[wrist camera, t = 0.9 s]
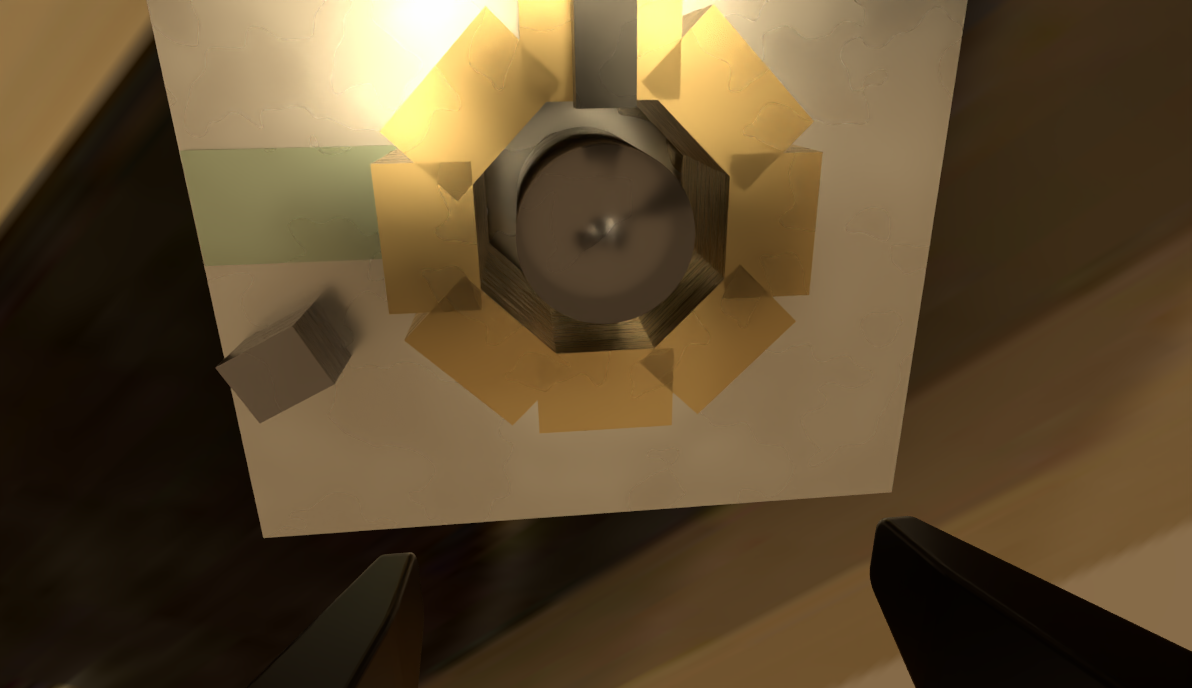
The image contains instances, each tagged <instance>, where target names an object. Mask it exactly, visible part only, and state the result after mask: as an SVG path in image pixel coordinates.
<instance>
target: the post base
mask: <svg viewBox="0 0 1192 688" xmlns="http://www.w3.org/2000/svg"><path fill="white" fill-rule="evenodd" d="M712 4H714V5H715V6H716V7H717V8H718V10H719V11H720V12H721V13H722V14H723V15H724V17H725V18H726V19H727V20H728V21H729V22H730V24H731V25H732V26H733V27H734V28H735V29H736V31H737V32H738V33H739V34H740V35H741V37H742V38H743V39H744V40H745V41H746V42H747V44H748V45H749V46H750V47H751V48H752V49H753V51H754V52H755V53H756V54H757V55H758V56H759V58H760V59H761V60H762V61H763V62H764V64H765V65H766V66H767V67H768V68H769V69H770V71H771V72H772V73H773V74H774V75H775V76H776V78H777V79H778V80H779V81H780V82H781V83H782V85H783V86H784V87H785V88H786V89H787V91H788V92H789V93H790V94H791V95H792V96H793V98H794V99H795V100H796V101H797V102H798V103H799V105H800V106H801V107H802V108H803V109H804V110H805V112H806V113H807V114H808V115H809V116H810V117H811V119H812V120H813V121H814V122H813V123H812V124H811V125H810V126H809V127H808V128H807V129H806V130H805V131H804V132H803V133H802V134H801V135H800V136H799V137H798V138H797V139H796V140H795V141H794V142H793V143H792V144H793V145H797V146H801V147H805V148H809V149H813V150H817V151H821V152H823V155H822V166H821V176H820V187H819V197H818V208H817V218H816V229H815V239H814V250H813V260H812V271H811V281H810V292H809V295H800V296H778V297H773V298H774V299H775V300H776V301H777V302H778V303H779V304H780V305H781V306H782V307H783V308H784V309H785V310H786V311H787V312H788V313H789V314H790V315H791V316H792V317H793V318H794V320H795V321H796V322H795V323H794V324H793V325H792V326H791V327H790V328H788V329H787V330H786V331H785V332H784V333H783V334H782V335H781V336H780V337H779V338H778V339H777V340H776V341H775V342H774V343H773V344H772V345H770V346H769V347H768V348H767V349H766V350H765V351H764V352H763V353H762V354H761V355H760V356H759V357H758V358H757V359H756V360H755V361H753V362H752V363H751V364H750V365H749V366H748V367H747V368H746V369H745V370H744V371H743V372H742V373H741V374H740V375H739V376H738V377H737V378H735V379H734V380H733V381H732V382H731V383H730V384H729V385H728V386H727V387H726V388H725V389H724V390H723V391H722V392H721V393H720V394H719V395H717V396H716V397H715V398H714V399H713V400H712V401H711V402H710V403H709V404H708V405H707V406H706V407H705V408H704V409H703V410H702V411H700V412H699V413H698V414H697V413H696V412H694V411H693V410H692V409H691V408H690V407H689V406H688V405H686V404H685V403H684V402H683V401H682V400H681V399H680V398H679V397H677V396H676V395H675V394H674V393H673V400H672V425H668V426H652V427H636V428H620V429H604V430H588V431H572V432H556V433H539V417H538V400H537V401H536V402H535V403H534V404H533V405H532V406H531V407H530V408H529V409H528V411H527V412H526V413H525V414H524V415H523V416H522V417H521V418H520V419H519V420H518V421H517V422H516V423H515V424H514V425H513V426H512V425H511V424H510V423H509V422H507V421H506V420H505V419H504V418H502V417H501V416H500V415H498V414H497V413H496V412H495V411H493V410H492V409H491V408H490V407H488V406H487V405H486V404H484V403H483V402H482V401H481V400H479V399H478V398H477V397H475V396H474V395H473V394H472V393H470V392H469V391H468V390H467V389H465V388H464V387H463V386H461V385H460V384H459V383H458V382H456V381H455V380H454V379H453V378H451V377H450V376H449V375H447V374H446V373H445V372H444V371H442V370H441V369H440V368H438V367H437V366H436V365H435V364H433V363H432V362H431V361H430V360H428V359H427V358H426V357H424V356H423V355H422V354H421V353H419V352H418V351H417V350H416V349H414V348H413V347H412V346H410V345H409V344H408V343H407V342H405V341H404V340H405V337H406V335H407V333H408V331H409V328H410V326H411V324H412V321H413V319H414V317H415V314H416V313H409V314H389V310H388V302H387V294H386V286H385V278H384V270H383V262H382V254H381V246H380V238H379V230H378V222H377V214H376V206H375V198H374V190H373V182H372V174H371V166H370V164H371V163H373V162H375V161H376V160H378V159H380V158H382V157H383V156H385V155H387V154H388V153H390V152H392V151H394V150H395V149H397V147H396V146H395V145H394V144H392V143H391V142H390V141H389V140H388V139H387V138H386V137H385V136H383V135H382V134H381V133H380V132H379V131H380V130H381V129H382V128H383V127H384V125H385V124H386V123H387V122H388V121H389V120H390V118H391V117H392V116H393V115H394V114H395V112H396V111H397V110H398V109H399V108H400V107H401V105H402V104H403V103H404V102H405V101H406V99H407V98H408V97H409V96H410V95H411V93H412V92H413V91H414V90H415V89H416V88H417V86H418V85H419V84H420V83H421V82H422V80H423V79H424V78H425V77H426V76H427V74H428V73H429V72H430V71H431V70H432V69H433V67H434V66H435V65H436V64H437V63H438V61H439V60H440V59H441V58H442V57H443V56H444V54H445V53H446V52H447V51H448V50H449V48H450V47H451V46H452V45H453V44H454V42H455V41H456V40H457V39H458V38H459V37H460V35H461V34H462V33H463V32H464V31H465V29H466V28H467V27H468V26H469V25H470V23H471V22H472V21H473V20H474V19H475V18H476V16H477V15H478V14H479V13H480V12H481V10H482V9H483V8H484V7H485V6H487V8H488V9H489V10H490V11H491V12H492V13H493V14H494V15H495V16H496V17H497V18H498V19H499V20H500V21H501V22H502V23H503V24H504V25H505V26H506V27H507V28H508V29H509V30H510V31H511V32H512V33H513V34H514V35H515V36H516V37H517V38H518V39H519V26H518V0H147V5H148V10H149V14H150V19H151V23H152V28H153V33H154V37H155V42H156V46H157V51H158V56H159V60H160V65H161V69H162V74H163V79H164V83H165V88H166V92H167V97H168V102H169V106H170V111H171V115H172V120H173V125H174V129H175V134H176V138H177V143H178V147H179V152H180V157H181V161H182V166H183V170H184V175H185V180H186V184H187V189H188V193H189V198H190V203H191V207H192V212H193V216H194V221H195V226H196V230H197V235H198V239H199V244H200V249H201V253H202V258H203V262H204V267H205V272H206V276H207V281H208V285H209V290H210V295H211V299H212V304H213V308H214V313H215V317H216V322H217V327H218V331H219V336H220V340H221V345H222V350H223V354H224V360H223V361H222V362H220V363H219V364H218V365H217V366H216V367H215V368H216V369H217V371H218V372H219V373H220V374H221V376H222V377H223V378H224V379H225V381H226V382H227V383H228V384H229V386H230V387H231V391H232V396H233V400H234V405H235V409H236V414H237V419H238V423H239V428H240V432H241V437H242V442H243V446H244V451H245V455H246V460H247V465H248V469H249V474H250V478H251V483H252V487H253V492H254V497H255V501H256V506H257V510H258V515H259V520H260V524H261V529H262V533H263V538H269V537H283V536H297V535H310V534H324V533H338V532H352V531H365V530H379V529H393V528H407V527H420V526H434V525H448V524H461V523H475V522H489V521H503V520H516V519H530V518H544V517H557V516H571V515H585V514H599V513H612V512H626V511H640V510H653V509H667V508H681V507H695V506H708V505H722V504H736V503H750V502H763V501H777V500H791V499H804V498H818V497H832V496H846V495H859V494H873V493H887V492H892V486H893V480H894V474H895V467H896V461H897V454H898V448H899V441H900V435H901V428H902V422H903V415H904V409H905V402H906V396H907V389H908V383H909V376H910V370H911V363H912V357H913V350H914V344H915V337H916V331H917V324H918V318H919V311H920V305H921V298H922V292H923V285H924V279H925V273H926V266H927V260H928V253H929V247H930V240H931V234H932V227H933V221H934V214H935V208H936V201H937V195H938V188H939V182H940V175H941V169H942V162H943V156H944V149H945V143H946V136H947V130H948V123H949V117H950V110H951V104H952V97H953V91H954V85H955V78H956V72H957V65H958V59H959V52H960V46H961V39H962V33H963V26H964V20H965V13H966V7H967V0H683V3H682V16H683V15H686V14H688V13H691V12H693V11H696V10H699V9H701V8H704V7H707V6H709V5H712ZM681 175H682V154H681V153H680V152H679V151H678V150H677V149H676V147H675V146H674V145H673V144H672V143H671V142H670V141H669V140H668V139H667V138H666V137H665V136H664V135H663V134H662V133H661V132H660V131H659V130H658V129H657V128H656V126H655V125H654V124H653V123H652V122H651V121H650V120H649V119H648V118H647V117H646V116H645V115H644V114H643V113H642V112H641V111H640V110H639V109H638V108H597V109H575V108H573V101H563V102H546V103H545V104H544V105H543V106H542V107H541V108H540V110H539V111H538V112H537V113H536V114H535V115H534V116H533V117H532V118H531V120H530V121H529V122H528V123H527V124H526V125H525V126H524V127H523V129H522V130H521V131H520V132H519V133H518V134H517V135H516V136H515V138H514V139H513V140H512V141H511V142H510V143H509V144H508V145H507V147H506V148H505V149H504V150H503V151H502V152H501V153H500V154H499V155H498V157H497V158H496V159H495V160H494V161H493V162H492V163H491V164H490V166H489V167H488V168H487V169H486V170H485V171H484V178H485V193H486V207H487V221H488V235H489V243H490V244H491V245H492V246H493V247H494V248H496V249H497V250H498V251H499V252H500V253H501V254H502V255H504V256H505V257H506V258H507V259H508V260H509V261H510V262H512V263H513V264H514V265H515V266H516V267H517V268H518V269H519V270H521V271H522V272H523V273H524V275H525V277H526V279H527V281H528V282H529V284H530V286H531V287H532V288H533V290H534V291H535V292H536V293H537V295H538V296H539V297H540V298H541V299H542V300H543V301H544V302H545V303H547V304H548V305H549V306H551V307H552V308H553V309H555V310H556V311H558V312H560V313H562V314H563V315H565V316H568V317H570V318H573V319H576V320H579V321H583V322H588V323H595V324H610V323H619V322H623V321H627V320H631V319H633V318H636V317H639V316H641V315H643V314H645V313H647V312H649V311H651V310H652V309H654V308H655V307H656V306H658V305H659V304H661V303H662V302H663V301H664V300H665V299H666V298H667V297H668V296H669V295H670V294H671V293H672V292H673V291H674V290H675V288H676V287H677V286H678V284H679V283H680V281H681V280H682V278H683V276H684V274H685V272H686V270H687V269H688V266H689V263H690V260H691V258H692V253H693V249H694V242H695V222H694V216H693V211H692V208H691V204H690V201H689V199H688V197H687V194H686V192H685V190H684V189H683V187H682V185H681Z"/></svg>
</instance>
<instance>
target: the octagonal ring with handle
mask: <svg viewBox="0 0 1192 688" xmlns="http://www.w3.org/2000/svg"><path fill="white" fill-rule="evenodd" d="M682 3H683V0H518V26H519V39H518V38H517V37H516V36H515V35H514V34H513V33H512V32H511V31H510V30H509V29H508V28H507V27H506V26H505V25H504V24H503V23H502V22H501V21H500V20H499V19H498V18H497V17H496V16H495V15H494V14H493V13H492V12H491V11H490V10H489V9H488V8H487V6H485V7H484V8H483V9H482V10H481V12H480V13H479V14H478V15H477V16H476V18H475V19H474V20H473V21H472V22H471V23H470V25H469V26H468V27H467V28H466V29H465V31H464V32H463V33H462V34H461V35H460V37H459V38H458V39H457V40H456V41H455V42H454V44H453V45H452V46H451V47H450V48H449V50H448V51H447V52H446V53H445V54H444V56H443V57H442V58H441V59H440V60H439V61H438V63H437V64H436V65H435V66H434V67H433V69H432V70H431V71H430V72H429V73H428V74H427V76H426V77H425V78H424V79H423V80H422V82H421V83H420V84H419V85H418V86H417V88H416V89H415V90H414V91H413V92H412V93H411V95H410V96H409V97H408V98H407V99H406V101H405V102H404V103H403V104H402V105H401V107H400V108H399V109H398V110H397V111H396V112H395V114H394V115H393V116H392V117H391V118H390V120H389V121H388V122H387V123H386V124H385V125H384V127H383V128H382V129H381V130H380V131H379V132H380V133H381V134H382V135H383V136H385V137H386V138H387V139H388V140H389V141H390V142H391V143H392V144H394V145H395V146H396V147H397V149H395V150H394V151H392V152H390V153H388V154H387V155H385V156H383V157H382V158H380V159H378V160H376V161H375V162H373V163H371V164H370V166H371V174H372V182H373V190H374V198H375V206H376V214H377V222H378V230H379V238H380V246H381V254H382V262H383V270H384V278H385V286H386V294H387V302H388V310H389V314H409V313H416V314H415V317H414V319H413V321H412V324H411V326H410V328H409V331H408V333H407V335H406V337H405V340H404V341H405V342H407V343H408V344H409V345H410V346H412V347H413V348H414V349H416V350H417V351H418V352H419V353H421V354H422V355H423V356H424V357H426V358H427V359H428V360H430V361H431V362H432V363H433V364H435V365H436V366H437V367H438V368H440V369H441V370H442V371H444V372H445V373H446V374H447V375H449V376H450V377H451V378H453V379H454V380H455V381H456V382H458V383H459V384H460V385H461V386H463V387H464V388H465V389H467V390H468V391H469V392H470V393H472V394H473V395H474V396H475V397H477V398H478V399H479V400H481V401H482V402H483V403H484V404H486V405H487V406H488V407H490V408H491V409H492V410H493V411H495V412H496V413H497V414H498V415H500V416H501V417H502V418H504V419H505V420H506V421H507V422H509V423H510V424H511V425H512V426H513V425H514V424H515V423H516V422H517V421H518V420H519V419H520V418H521V417H522V416H523V415H524V414H525V413H526V412H527V411H528V409H529V408H530V407H531V406H532V405H533V404H534V403H535V402H536V401H537V400H538V417H539V433H556V432H572V431H588V430H604V429H620V428H636V427H652V426H668V425H672V400H673V393H674V394H675V395H676V396H677V397H679V398H680V399H681V400H682V401H683V402H684V403H685V404H686V405H688V406H689V407H690V408H691V409H692V410H693V411H694V412H696V413H697V414H698V413H699V412H700V411H702V410H703V409H704V408H705V407H706V406H707V405H708V404H709V403H710V402H711V401H712V400H713V399H714V398H715V397H716V396H717V395H719V394H720V393H721V392H722V391H723V390H724V389H725V388H726V387H727V386H728V385H729V384H730V383H731V382H732V381H733V380H734V379H735V378H737V377H738V376H739V375H740V374H741V373H742V372H743V371H744V370H745V369H746V368H747V367H748V366H749V365H750V364H751V363H752V362H753V361H755V360H756V359H757V358H758V357H759V356H760V355H761V354H762V353H763V352H764V351H765V350H766V349H767V348H768V347H769V346H770V345H772V344H773V343H774V342H775V341H776V340H777V339H778V338H779V337H780V336H781V335H782V334H783V333H784V332H785V331H786V330H787V329H788V328H790V327H791V326H792V325H793V324H794V323H795V322H796V321H795V320H794V318H793V317H792V316H791V315H790V314H789V313H788V312H787V311H786V310H785V309H784V308H783V307H782V306H781V305H780V304H779V303H778V302H777V301H776V300H775V299H774V298H773V297H778V296H800V295H809V292H810V281H811V271H812V260H813V250H814V239H815V229H816V218H817V208H818V197H819V187H820V176H821V166H822V155H823V152H821V151H817V150H813V149H809V148H805V147H801V146H797V145H793V144H792V143H793V142H794V141H795V140H796V139H797V138H798V137H799V136H800V135H801V134H802V133H803V132H804V131H805V130H806V129H807V128H808V127H809V126H810V125H811V124H812V123H813V122H814V121H813V120H812V119H811V117H810V116H809V115H808V114H807V113H806V112H805V110H804V109H803V108H802V107H801V106H800V105H799V103H798V102H797V101H796V100H795V99H794V98H793V96H792V95H791V94H790V93H789V92H788V91H787V89H786V88H785V87H784V86H783V85H782V83H781V82H780V81H779V80H778V79H777V78H776V76H775V75H774V74H773V73H772V72H771V71H770V69H769V68H768V67H767V66H766V65H765V64H764V62H763V61H762V60H761V59H760V58H759V56H758V55H757V54H756V53H755V52H754V51H753V49H752V48H751V47H750V46H749V45H748V44H747V42H746V41H745V40H744V39H743V38H742V37H741V35H740V34H739V33H738V32H737V31H736V29H735V28H734V27H733V26H732V25H731V24H730V22H729V21H728V20H727V19H726V18H725V17H724V15H723V14H722V13H721V12H720V11H719V10H718V8H717V7H716V6H715V5H714V4H712V5H709V6H707V7H704V8H701V9H699V10H696V11H693V12H691V13H688V14H686V15H683V16H682ZM563 101H573V108H575V109H597V108H638V109H639V110H640V111H641V112H642V113H643V114H644V115H645V116H646V117H647V118H648V119H649V120H650V121H651V122H652V123H653V124H654V125H655V126H656V128H657V129H658V130H659V131H660V132H661V133H662V134H663V135H664V136H665V137H666V138H667V139H668V140H669V141H670V142H671V143H672V144H673V145H674V146H675V147H676V149H677V150H678V151H679V152H680V153H681V154H682V175H681V185H682V187H683V189H684V190H685V192H686V194H687V197H688V199H689V201H690V204H691V208H692V211H693V216H694V222H695V242H694V249H693V253H692V258H691V260H690V263H689V266H688V269H687V270H686V272H685V274H684V276H683V278H682V280H681V281H680V283H679V284H678V286H677V287H676V288H675V290H674V291H673V292H672V293H671V294H670V295H669V296H668V297H667V298H666V299H665V300H664V301H663V302H662V303H661V304H659V305H658V306H656V307H655V308H654V309H652V310H651V311H649V312H647V313H645V314H643V315H641V316H639V317H636V318H633V319H631V320H627V321H623V322H619V323H610V324H595V323H588V322H583V321H579V320H576V319H573V318H570V317H568V316H565V315H563V314H562V313H560V312H558V311H556V310H555V309H553V308H552V307H551V306H549V305H548V304H547V303H545V302H544V301H543V300H542V299H541V298H540V297H539V296H538V295H537V293H536V292H535V291H534V290H533V288H532V287H531V286H530V284H529V282H528V281H527V279H526V277H525V275H524V273H523V272H522V271H521V270H519V269H518V268H517V267H516V266H515V265H514V264H513V263H512V262H510V261H509V260H508V259H507V258H506V257H505V256H504V255H502V254H501V253H500V252H499V251H498V250H497V249H496V248H494V247H493V246H492V245H491V244H490V243H489V235H488V221H487V207H486V193H485V178H484V171H485V170H486V169H487V168H488V167H489V166H490V164H491V163H492V162H493V161H494V160H495V159H496V158H497V157H498V155H499V154H500V153H501V152H502V151H503V150H504V149H505V148H506V147H507V145H508V144H509V143H510V142H511V141H512V140H513V139H514V138H515V136H516V135H517V134H518V133H519V132H520V131H521V130H522V129H523V127H524V126H525V125H526V124H527V123H528V122H529V121H530V120H531V118H532V117H533V116H534V115H535V114H536V113H537V112H538V111H539V110H540V108H541V107H542V106H543V105H544V104H545V103H546V102H563Z"/></svg>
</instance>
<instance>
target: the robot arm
mask: <svg viewBox="0 0 1192 688" xmlns="http://www.w3.org/2000/svg"><path fill="white" fill-rule="evenodd" d="M870 580H871V585H872V588H873V591H874V593H875V596H876V598H877V600H878V603H879V605H880V607H881V610H882V612H883V614H884V617H885V619H886V621H887V623H888V626H889V628H890V630H891V633H892V635H893V637H894V640H895V642H896V644H897V647H898V649H899V651H900V653H901V656H902V658H903V660H904V663H905V665H906V667H907V670H908V672H909V674H910V676H911V679H912V681H913V683H914V685H915V687H916V688H1192V651H1190V650H1188V649H1186V648H1183V647H1181V646H1179V645H1177V644H1175V643H1173V642H1171V641H1169V640H1167V639H1165V638H1163V637H1161V636H1159V635H1157V634H1154V633H1152V632H1150V631H1148V630H1146V629H1144V628H1142V627H1140V626H1138V625H1136V624H1134V623H1132V622H1130V621H1128V620H1126V619H1123V618H1121V617H1119V616H1117V615H1115V614H1113V613H1111V612H1109V611H1107V610H1105V609H1103V608H1101V607H1099V606H1097V605H1095V604H1092V603H1090V602H1088V601H1086V600H1084V599H1082V598H1080V597H1078V596H1076V595H1074V594H1072V593H1070V592H1068V591H1066V590H1064V589H1061V588H1059V587H1057V586H1055V585H1053V584H1051V583H1049V582H1047V581H1045V580H1043V579H1041V578H1039V577H1037V576H1035V575H1032V574H1030V573H1028V572H1026V571H1024V570H1022V569H1020V568H1018V567H1016V566H1014V565H1012V564H1010V563H1008V562H1006V561H1004V560H1002V559H999V558H997V557H995V556H993V555H991V554H989V553H987V552H985V551H983V550H981V549H979V548H977V547H975V546H973V545H971V544H968V543H966V542H964V541H962V540H960V539H958V538H956V537H954V536H952V535H950V534H948V533H946V532H944V531H942V530H940V529H937V528H935V527H933V526H931V525H929V524H927V523H925V522H923V521H921V520H919V519H917V518H914V517H911V516H903V517H890V518H883V519H882V520H880V521H879V523H878V524H877V527H876V532H875V538H874V545H873V552H872V558H871V565H870ZM423 625H424V609H423V600H422V592H421V584H420V576H419V568H418V561H417V558H416V556H415V555H414V554H413V553H398V554H385V555H382V556H380V557H379V558H378V559H376V560H375V561H374V562H373V563H372V564H371V565H370V566H369V567H368V568H367V569H366V570H365V571H364V572H363V573H362V574H361V575H360V576H359V577H358V578H357V579H356V580H355V581H354V582H353V583H352V584H351V585H350V586H349V587H348V588H347V589H346V590H345V591H344V592H343V593H342V594H341V595H340V596H339V597H338V598H337V599H336V600H335V601H334V602H333V603H332V604H331V605H330V606H329V607H328V608H327V609H326V610H325V611H324V612H322V613H321V614H320V615H319V616H318V617H317V618H316V619H315V620H314V621H313V622H312V623H311V624H310V625H309V626H308V627H307V628H306V629H305V630H304V631H303V632H302V633H301V634H300V635H299V636H298V637H297V638H296V639H295V640H294V641H293V642H292V643H291V644H290V645H289V646H288V647H287V648H286V649H285V650H284V651H283V652H282V653H281V654H280V655H279V656H278V657H277V658H276V659H275V660H274V661H273V662H272V663H271V664H270V665H269V666H267V667H266V668H265V669H264V670H263V671H262V672H261V673H260V674H259V675H258V676H257V677H256V678H255V679H254V680H253V681H252V682H251V683H250V684H249V685H248V686H247V687H246V688H418V682H419V671H420V659H421V648H422V637H423Z"/></svg>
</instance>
